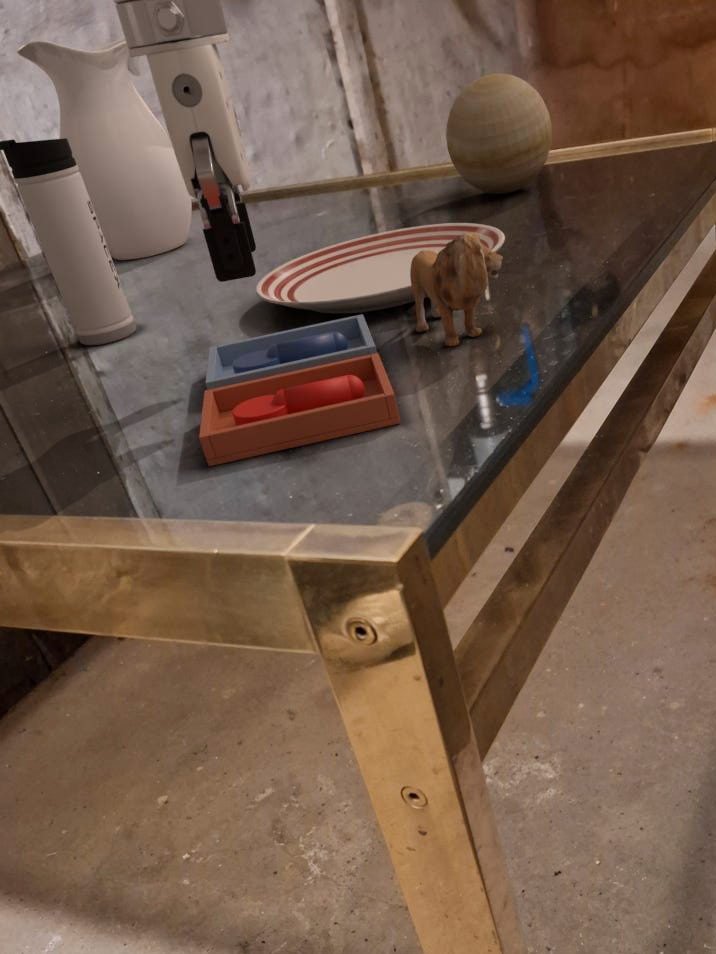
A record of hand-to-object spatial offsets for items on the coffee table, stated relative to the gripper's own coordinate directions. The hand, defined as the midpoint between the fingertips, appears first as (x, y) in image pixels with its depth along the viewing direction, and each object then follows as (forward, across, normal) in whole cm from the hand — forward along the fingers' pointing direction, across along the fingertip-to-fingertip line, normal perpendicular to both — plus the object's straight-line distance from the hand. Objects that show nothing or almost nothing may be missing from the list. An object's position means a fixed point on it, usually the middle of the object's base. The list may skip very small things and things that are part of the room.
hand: (238, 265), depth 79 cm
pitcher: (+10, +72, +14) cm, 74 cm away
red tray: (+9, -15, -3) cm, 18 cm away
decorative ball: (+8, +59, -36) cm, 70 cm away
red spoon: (+9, -15, -3) cm, 17 cm away
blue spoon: (+9, -3, -3) cm, 9 cm away
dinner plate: (+9, +20, -14) cm, 26 cm away
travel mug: (+10, +24, +18) cm, 31 cm away
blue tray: (+9, -2, -3) cm, 10 cm away
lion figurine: (+9, -1, -18) cm, 20 cm away
